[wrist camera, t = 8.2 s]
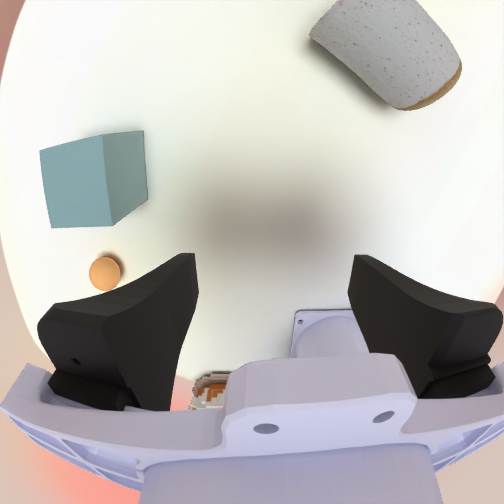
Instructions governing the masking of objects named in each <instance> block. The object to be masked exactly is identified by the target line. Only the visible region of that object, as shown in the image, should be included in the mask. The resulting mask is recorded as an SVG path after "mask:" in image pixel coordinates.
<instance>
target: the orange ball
mask: <svg viewBox="0 0 504 504" xmlns="http://www.w3.org/2000/svg"><path fill="white" fill-rule="evenodd" d="M120 276H121V273H120V268H119V266H118V264H117V263H116V262H115V261H114V260H113V259H111V258H108V257H101V258H98V259H97V260H95V261H94V262H93V263H92V265H91V267H90V270H89V277H90V280H91V283H92V284H93V285H94V286H95V287H96V288H97V289H99V290H102V291H108V290H111V289H113V288H115V287H116V286H117V284H118V283H119V280H120Z"/></svg>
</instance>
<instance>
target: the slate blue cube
mask: <svg viewBox="0 0 504 504" xmlns="http://www.w3.org/2000/svg"><path fill="white" fill-rule="evenodd" d="M40 162H41V171H42V179H43V186H44V192H45V198H46V204H47V209H48V214H49V219H50V224H51V228H70V227H100V226H114V225H115V224H116V223H117V222H119V221H120V220H121V219H123V218H124V217H125V216H126V215H128V214H129V213H130V212H132V211H133V210H134V209H136V208H137V207H138V206H140V205H141V204H143V203H144V202H145V201H147V200H148V192H147V181H146V169H145V154H144V134H143V131H133V132H123V133H114V134H106V135H100V136H95V137H90V138H85V139H81V140H77V141H73V142H69V143H65V144H61V145H57V146H53V147H50V148H46V149H43V150H40Z"/></svg>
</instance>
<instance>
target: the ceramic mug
mask: <svg viewBox="0 0 504 504" xmlns="http://www.w3.org/2000/svg"><path fill="white" fill-rule="evenodd" d="M309 35H310V37H311V38H312V39H313V40H315V41H316V42H318V43H319V44H320V45H322V46H323V47H324V48H325V49H327V50H328V51H329V52H330V53H332V54H333V55H334V56H335V57H336V58H338V59H339V60H340V61H341V62H343V63H344V64H345V65H346V66H347V67H349V68H350V69H351V70H352V71H353V72H354V73H356V74H357V75H358V76H359V77H360V78H361V79H362V80H363V81H364V82H365V83H366V84H367V85H368V86H369V87H370V88H371V89H372V90H373V91H374V92H375V93H376V94H377V95H379V96H380V97H381V98H382V99H383V100H384V101H386V102H387V103H388V104H390V105H391V106H392V107H394V108H396V109H398V110H404V111H411V110H416V109H420V108H422V107H425V106H428V105H430V104H431V103H433V102H435V101H436V100H438V99H440V98H441V97H442V96H444V95H445V94H446V93H447V92H448V91H449V90H451V89H452V88H453V86H454V85H455V84H456V82H457V81H458V79H459V77H460V75H461V71H462V63H461V60H460V58H459V55H458V54H457V52H456V50H455V48H454V47H453V45H452V43H451V42H450V40H449V38H448V37H447V36H446V34H445V33H444V32H443V31H442V30H441V29H440V27H439V26H438V25H437V24H436V23H435V22H434V20H433V19H432V18H431V17H430V16H429V15H428V13H427V12H426V11H425V10H424V9H423V8H422V7H421V6H420V4H419V3H418V2H417V1H416V0H338V1H337V2H336V3H335V4H334V5H333V7H332V8H331V9H330V10H329V11H327V12H326V13H325V14H324V15H323V17H322V18H321V19H320V20H319V21H318V22H317V24H316V25H315V26H314V27H313V29H312V30H311V31H310V33H309Z"/></svg>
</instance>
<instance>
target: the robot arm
mask: <svg viewBox="0 0 504 504" xmlns="http://www.w3.org/2000/svg"><path fill="white" fill-rule="evenodd" d="M198 294H199V289H198V281H197V272H196V263H195V253H180V254H178V255H176V256H175V257H173V258H171V259H170V260H168V261H167V262H165V263H164V264H162V265H160V266H159V267H157V268H156V269H154V270H152V271H151V272H149V273H147V274H145V275H144V276H142V277H140V278H138V279H136V280H135V281H133V282H130V283H128V284H126V285H124V286H122V287H119V288H117V289H114V290H111V291H108V292H105V293H103V294H99V295H96V296H92V297H88V298H84V299H80V300H75V301H68V302H62V303H55V304H54V305H53V306H52V307H51V308H50V309H49V310H48V311H47V312H46V314H45V315H44V316H43V317H42V318H41V319H40V321H39V322H38V325H37V331H38V336H39V339H40V341H41V344H42V346H43V347H44V349H45V351H46V353H47V354H48V356H49V358H50V359H51V361H52V363H53V364H54V366H55V368H56V370H55V372H54V374H53V375H52V374H51V373H50V372H49V371H47V370H45V369H43V368H40V367H38V366H35V365H33V364H30V363H27V365H26V366H25V368H24V369H23V370H22V372H21V373H20V375H19V376H18V378H17V379H16V381H15V382H14V384H13V385H12V387H11V389H10V390H9V392H8V393H7V395H6V397H5V398H4V400H3V401H2V403H1V405H0V409H1V410H2V411H3V412H4V413H5V414H6V415H7V417H8V418H9V419H10V420H11V421H12V422H13V423H14V424H15V425H16V426H17V427H19V429H20V430H21V431H22V432H23V433H25V434H26V435H27V436H28V437H29V438H30V439H31V440H32V441H33V442H34V443H36V444H37V445H39V446H41V447H42V448H44V449H46V450H48V451H49V452H51V453H53V454H55V455H57V456H59V457H61V458H62V459H64V460H66V461H69V462H70V463H72V464H74V465H76V466H78V467H80V468H82V469H84V470H87V471H89V472H91V473H93V474H95V475H98V476H100V477H102V478H104V479H107V480H109V481H112V482H114V483H117V484H119V485H122V486H125V487H128V488H131V489H133V490H136V491H139V492H141V494H140V499H139V503H138V504H443V501H442V497H441V493H440V489H439V486H438V482H437V479H436V475H435V473H436V472H438V471H440V470H442V469H444V468H446V467H448V466H450V465H452V464H454V463H456V462H457V461H459V460H461V459H463V458H464V457H466V456H468V455H470V454H472V453H473V452H475V451H476V450H478V449H480V448H482V447H483V446H485V445H487V444H488V443H490V442H491V441H493V440H494V439H496V438H498V437H499V436H501V435H502V434H503V433H504V362H502V363H500V364H498V365H496V366H494V367H493V368H492V369H490V367H489V366H488V364H489V363H490V361H491V358H490V357H489V355H488V352H489V350H490V349H491V347H492V345H493V343H494V342H495V340H496V338H497V336H498V334H499V332H500V330H501V327H502V324H503V314H502V312H501V311H500V310H499V309H498V307H497V306H496V305H495V304H493V303H488V302H481V301H474V300H469V299H465V298H460V297H457V296H453V295H450V294H447V293H444V292H441V291H438V290H435V289H433V288H430V287H428V286H426V285H423V284H421V283H419V282H417V281H415V280H413V279H411V278H409V277H407V276H405V275H403V274H402V273H400V272H398V271H396V270H395V269H393V268H391V267H389V266H388V265H386V264H384V263H383V262H381V261H379V260H377V259H375V258H373V257H371V256H369V255H355V256H354V261H353V267H352V272H351V278H350V283H349V288H348V297H349V301H350V305H351V308H352V310H334V311H299V312H297V313H296V315H295V322H294V330H293V337H292V344H291V351H290V358H285V359H267V360H261V361H255V362H249V363H247V364H245V365H243V366H242V367H240V368H239V369H237V370H235V371H234V372H232V373H230V376H229V378H228V381H227V384H226V387H225V395H224V403H223V407H218V408H209V409H197V410H184V411H170V405H171V398H172V391H173V385H174V378H175V374H176V369H177V364H178V359H179V355H180V351H181V348H182V345H183V342H184V339H185V336H186V334H187V331H188V328H189V325H190V323H191V320H192V317H193V314H194V312H195V308H196V304H197V299H198ZM299 320H302V321H299Z"/></svg>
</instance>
